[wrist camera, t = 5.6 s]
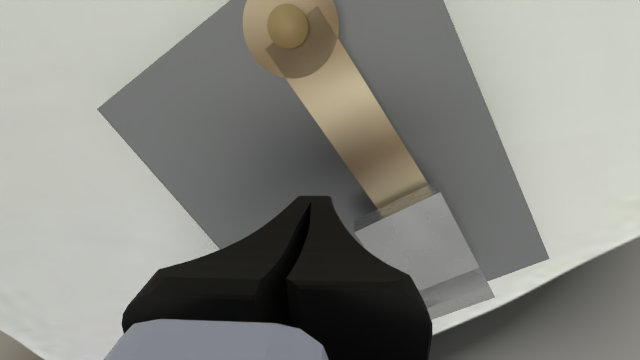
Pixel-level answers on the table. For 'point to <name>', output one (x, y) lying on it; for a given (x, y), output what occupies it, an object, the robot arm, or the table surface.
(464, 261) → the block
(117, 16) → the table surface
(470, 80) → the board
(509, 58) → the table surface
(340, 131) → the link
